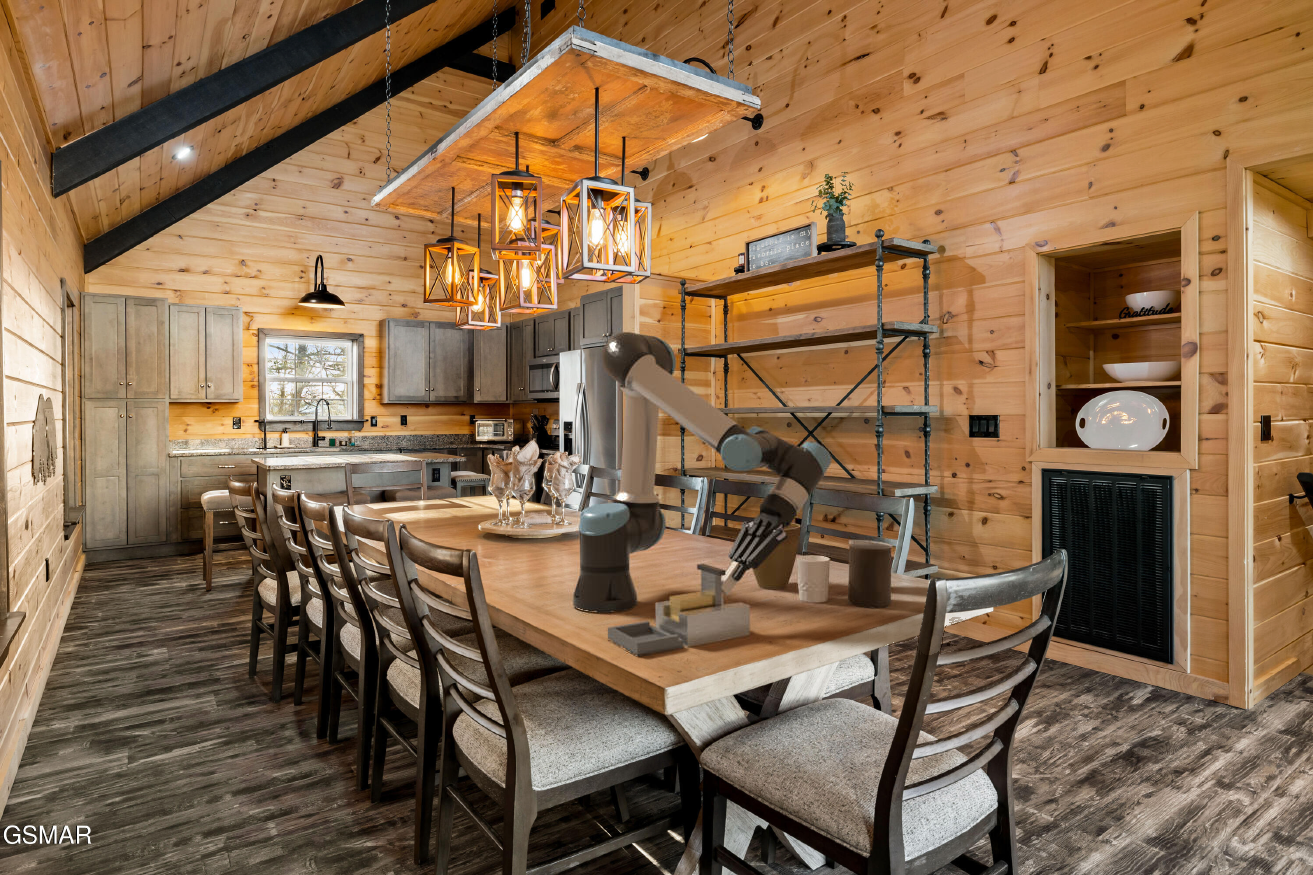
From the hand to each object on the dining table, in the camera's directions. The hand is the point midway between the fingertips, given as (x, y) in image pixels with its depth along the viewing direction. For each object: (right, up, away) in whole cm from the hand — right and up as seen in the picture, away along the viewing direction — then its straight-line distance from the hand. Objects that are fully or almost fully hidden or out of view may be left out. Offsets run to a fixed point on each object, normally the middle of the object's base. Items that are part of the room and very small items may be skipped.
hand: (722, 590), depth 149 cm
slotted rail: (-5, -9, -1) cm, 10 cm away
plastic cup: (+41, -8, +37) cm, 56 cm away
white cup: (+24, -8, +26) cm, 37 cm away
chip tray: (-16, -9, -8) cm, 20 cm away
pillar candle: (+37, -8, +23) cm, 44 cm away
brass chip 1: (-8, -5, -3) cm, 10 cm away
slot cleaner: (-2, -4, 0) cm, 5 cm away
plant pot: (+17, -8, +41) cm, 45 cm away
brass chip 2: (-5, -5, -1) cm, 7 cm away
